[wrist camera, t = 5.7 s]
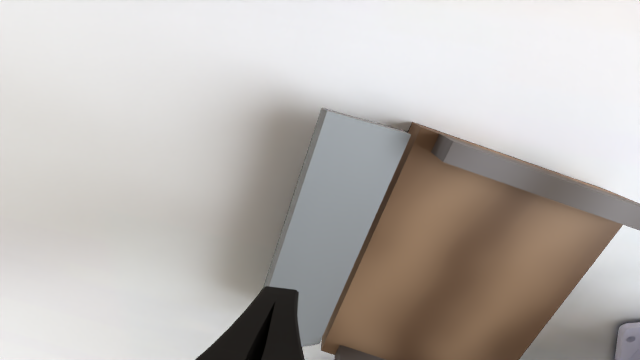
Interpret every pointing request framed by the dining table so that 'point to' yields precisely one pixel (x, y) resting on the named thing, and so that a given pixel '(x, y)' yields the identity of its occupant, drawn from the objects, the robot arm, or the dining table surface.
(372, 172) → the panel
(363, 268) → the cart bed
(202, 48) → the dining table surface
